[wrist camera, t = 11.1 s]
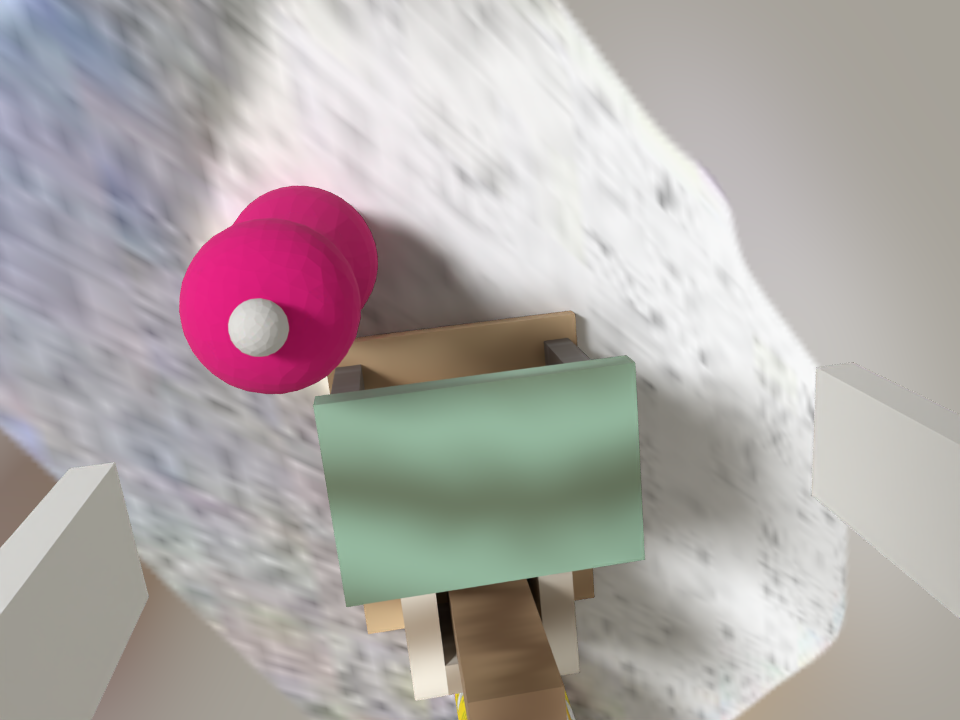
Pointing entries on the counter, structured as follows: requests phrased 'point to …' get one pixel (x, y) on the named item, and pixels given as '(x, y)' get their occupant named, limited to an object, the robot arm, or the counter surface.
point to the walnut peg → (504, 654)
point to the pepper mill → (280, 291)
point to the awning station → (478, 477)
